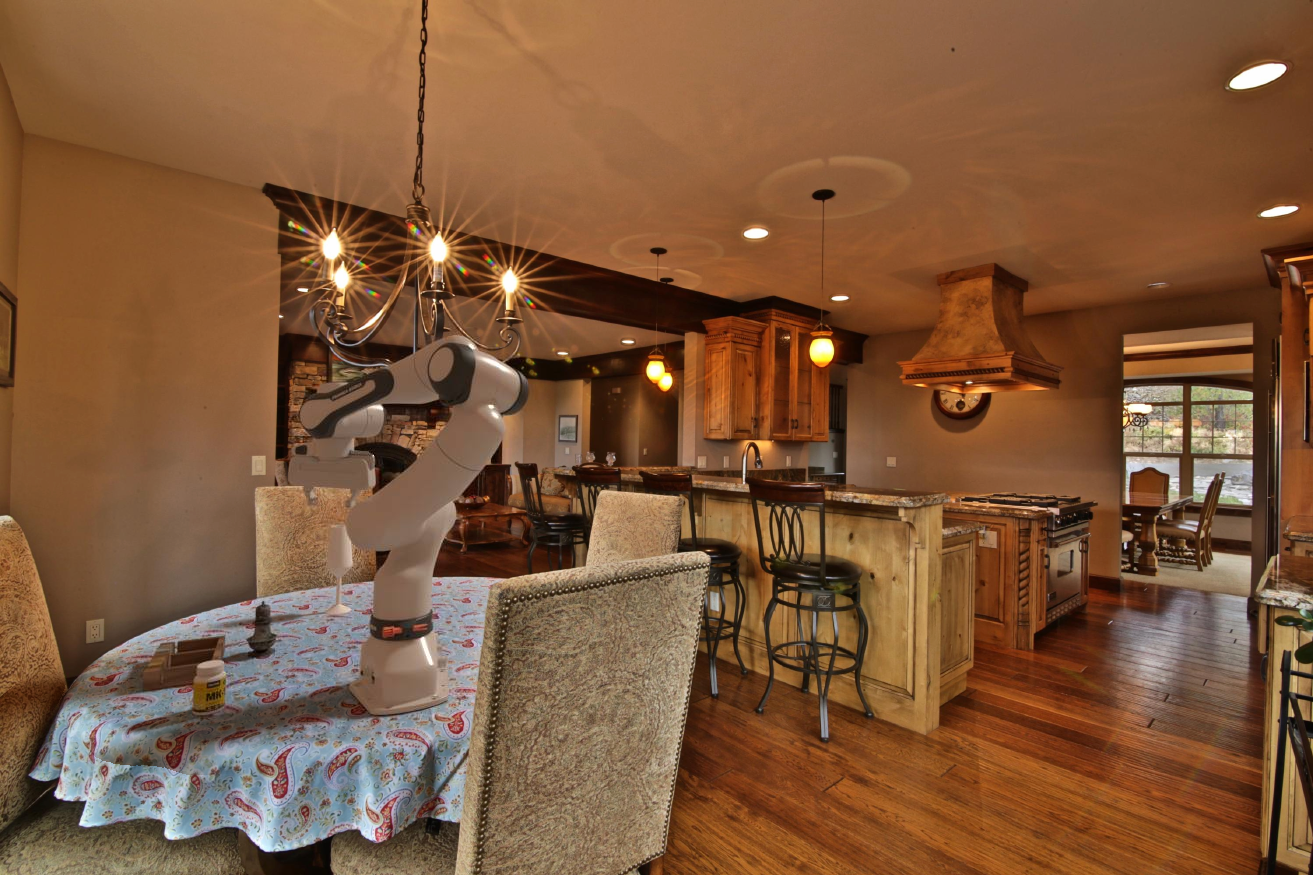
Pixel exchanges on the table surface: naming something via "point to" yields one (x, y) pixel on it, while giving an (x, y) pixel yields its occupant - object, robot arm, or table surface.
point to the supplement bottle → (209, 688)
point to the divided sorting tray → (181, 661)
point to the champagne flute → (339, 562)
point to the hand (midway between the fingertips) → (331, 506)
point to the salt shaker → (262, 633)
